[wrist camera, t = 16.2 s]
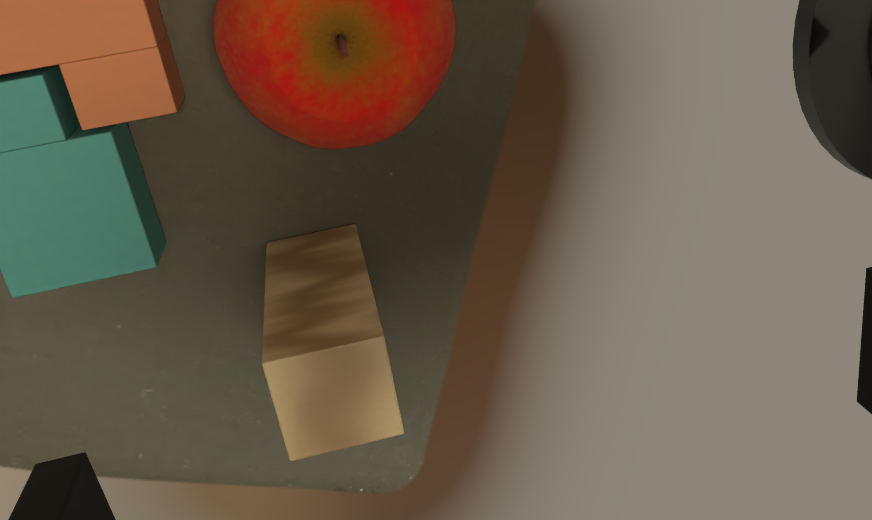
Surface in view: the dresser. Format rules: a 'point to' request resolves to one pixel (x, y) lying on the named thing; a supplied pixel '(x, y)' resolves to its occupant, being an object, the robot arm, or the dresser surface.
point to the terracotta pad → (96, 55)
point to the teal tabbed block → (67, 191)
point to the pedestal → (325, 345)
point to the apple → (335, 64)
